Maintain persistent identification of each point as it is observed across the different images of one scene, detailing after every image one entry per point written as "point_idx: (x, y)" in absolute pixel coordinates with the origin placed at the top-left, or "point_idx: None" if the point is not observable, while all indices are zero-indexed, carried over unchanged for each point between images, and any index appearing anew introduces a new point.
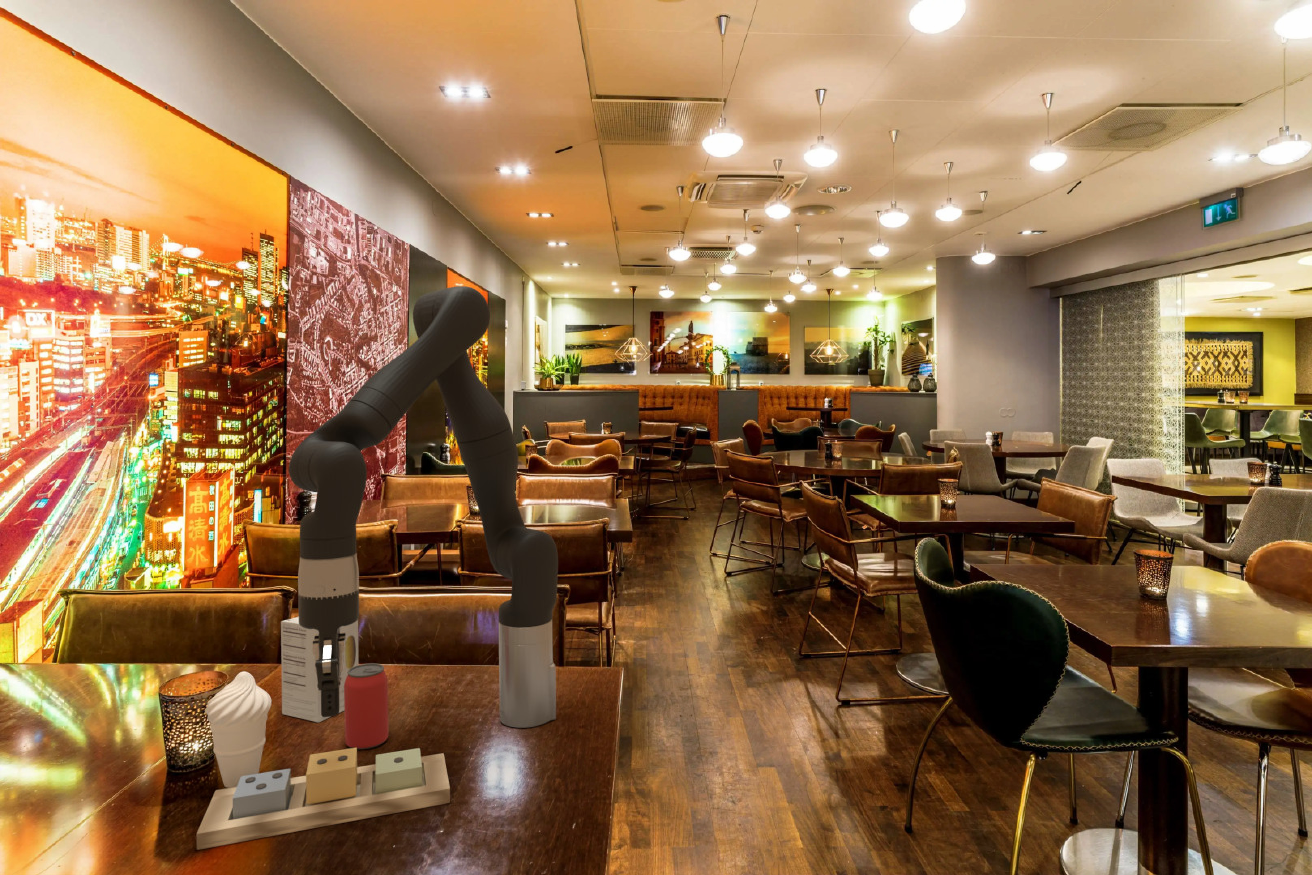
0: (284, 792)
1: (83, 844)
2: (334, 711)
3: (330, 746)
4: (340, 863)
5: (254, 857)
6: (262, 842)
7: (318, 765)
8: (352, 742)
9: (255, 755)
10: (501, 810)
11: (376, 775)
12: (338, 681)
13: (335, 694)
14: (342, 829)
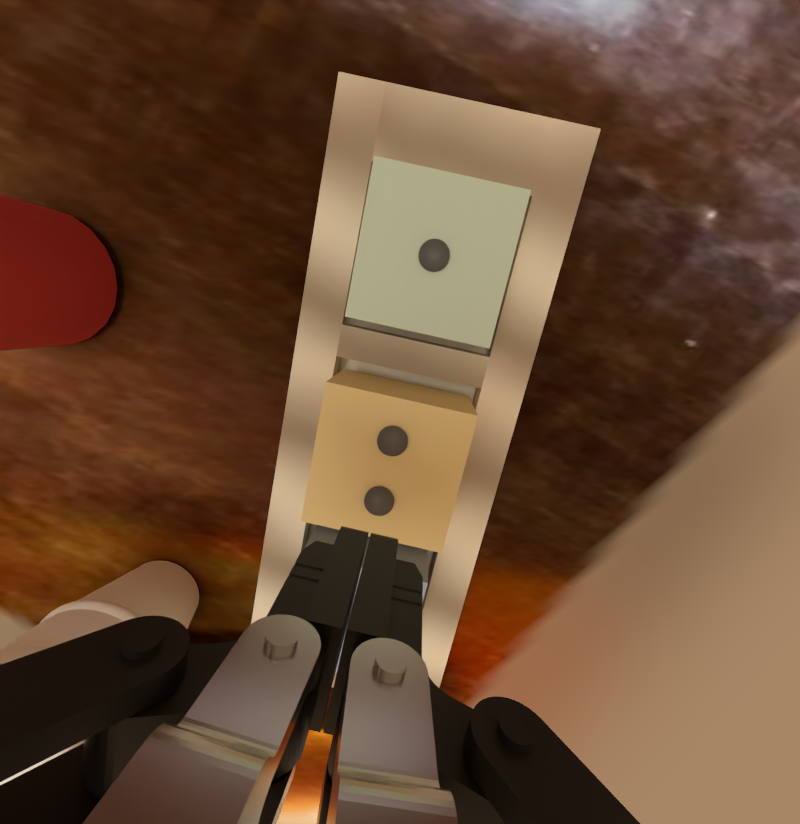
0: (426, 579)
1: (295, 818)
2: (418, 574)
3: (53, 380)
4: (676, 463)
5: (530, 600)
6: (479, 582)
7: (397, 512)
8: (88, 331)
9: (157, 614)
10: (732, 6)
11: (489, 345)
12: (526, 758)
13: (388, 628)
14: (533, 433)
